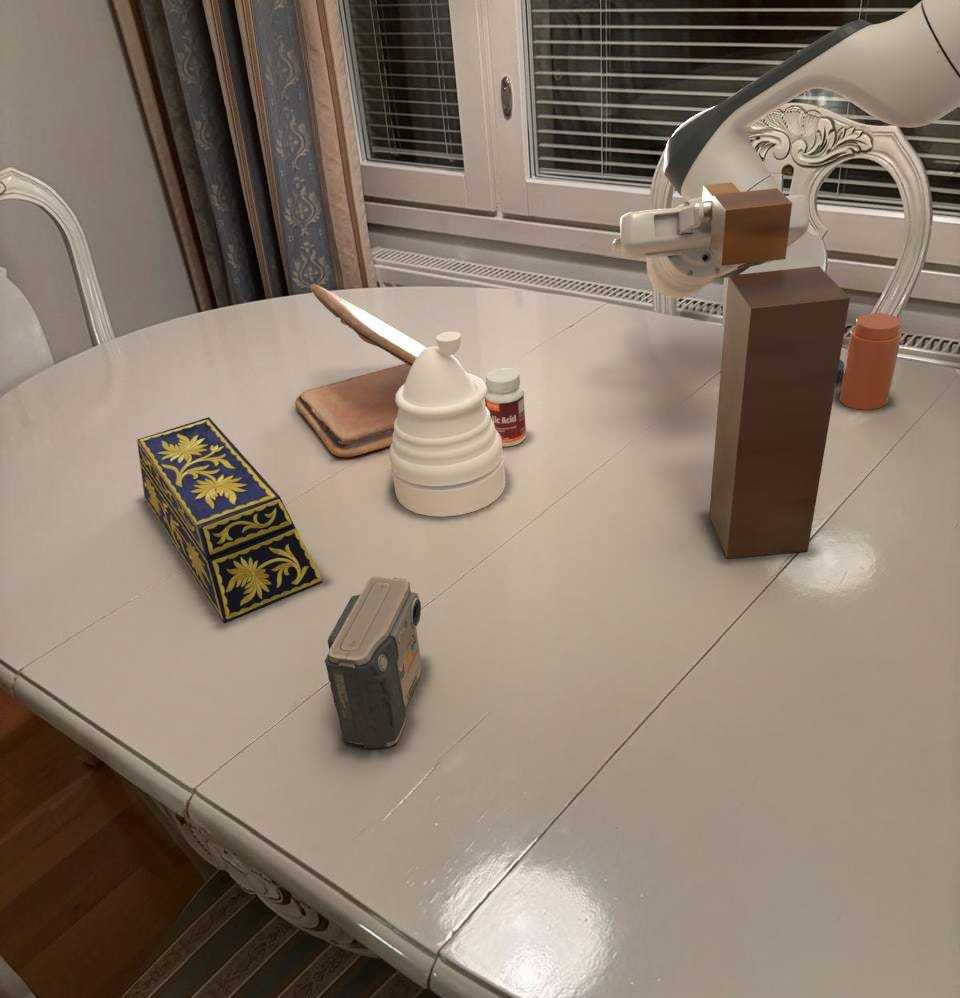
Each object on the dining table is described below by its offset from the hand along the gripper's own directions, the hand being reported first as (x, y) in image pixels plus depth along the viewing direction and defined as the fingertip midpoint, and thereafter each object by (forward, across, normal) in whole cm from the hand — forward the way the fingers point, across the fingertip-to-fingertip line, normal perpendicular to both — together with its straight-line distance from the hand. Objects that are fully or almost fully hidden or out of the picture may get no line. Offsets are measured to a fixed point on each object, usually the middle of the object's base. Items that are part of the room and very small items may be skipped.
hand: (727, 207), depth 93 cm
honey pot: (-7, -31, +26) cm, 41 cm away
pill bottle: (-16, -24, +20) cm, 36 cm away
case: (-26, -40, +15) cm, 50 cm away
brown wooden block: (+2, 0, +3) cm, 4 cm away
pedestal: (+6, 0, +33) cm, 33 cm away
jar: (-17, +20, +20) cm, 33 cm away
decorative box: (-2, -57, +29) cm, 64 cm away
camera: (+24, -37, +43) cm, 62 cm away
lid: (-23, +17, +15) cm, 32 cm away
